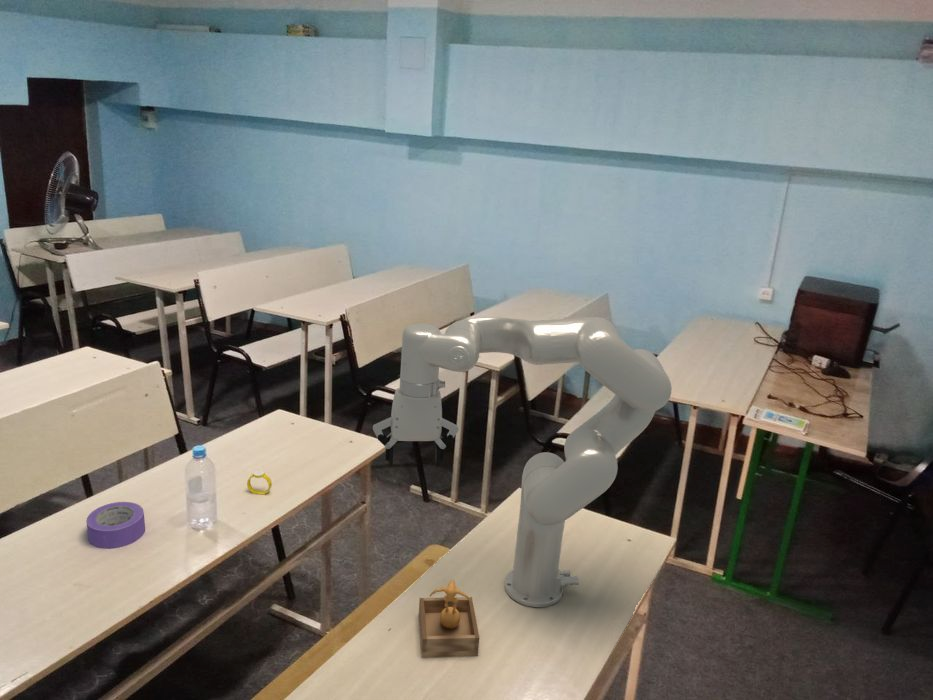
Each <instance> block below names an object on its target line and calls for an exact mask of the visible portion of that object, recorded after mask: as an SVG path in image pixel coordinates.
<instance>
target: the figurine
mask: <svg viewBox="0 0 933 700" xmlns="http://www.w3.org/2000/svg"><path fill="white" fill-rule="evenodd" d="M441 592H444V594H445V595H444V596H443V598H444V600H445V602H446V603H445V607H446V608H445V609H443V611H442V612H441V614H440V621H441V623H442V625H443V626H444V627H446V628H449V629H451V628H454V627H456V626H457V625H458V624H459V622H460V613H459V611H458V610H457V609H456V607H457V605H456V604H457V602H458V598H457V597H458V596H456V595H459V596H462V597H466V598H467V599H468V600H470V601H471V602H472V600H473V599H472V600H471V598H469V597H470V596H469V595H468V594H466V593H465V592H463V591H461V590H460V589H459V588H458V587H457V585H456V581H455V580H454V579H451V580H450V581H449V583H448V584H447V586H444V587H441V588H436V589H434V590H433V591H432V592H430V594H429V597H431V596H432V595H435V594H436V593H441ZM449 601H450V602H451V601H452V602H453V603H454V605H453V607H448V602H449Z"/></svg>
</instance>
